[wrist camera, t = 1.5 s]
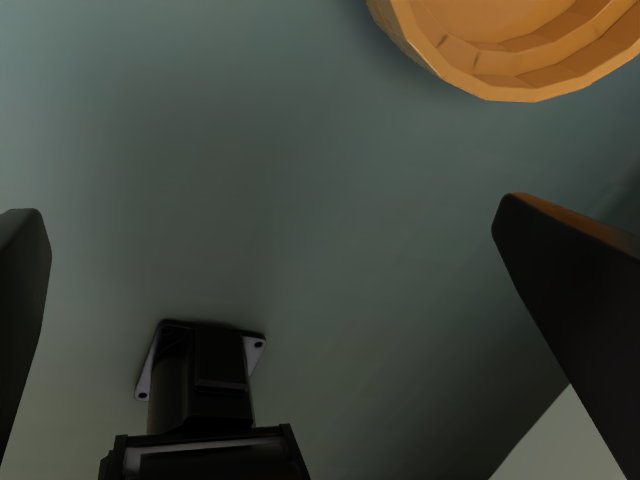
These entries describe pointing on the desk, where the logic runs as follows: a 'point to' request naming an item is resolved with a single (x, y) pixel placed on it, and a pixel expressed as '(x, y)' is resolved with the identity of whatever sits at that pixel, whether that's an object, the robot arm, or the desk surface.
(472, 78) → the bowl
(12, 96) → the desk surface
